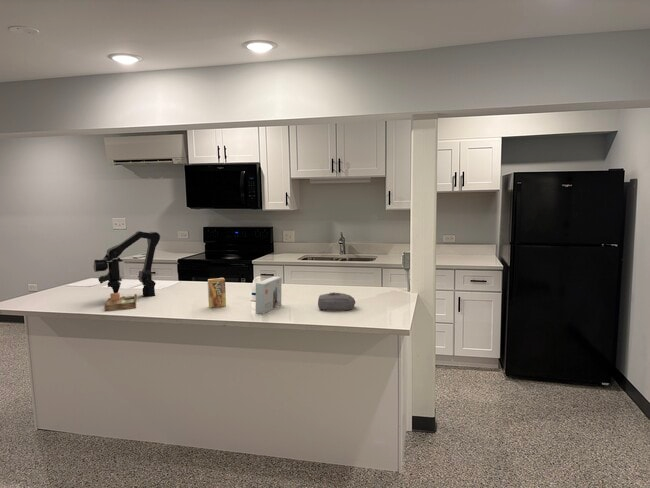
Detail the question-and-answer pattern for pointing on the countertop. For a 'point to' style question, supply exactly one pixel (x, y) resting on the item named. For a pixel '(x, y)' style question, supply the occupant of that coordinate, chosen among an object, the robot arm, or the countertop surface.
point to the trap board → (121, 303)
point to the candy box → (216, 292)
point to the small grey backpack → (336, 301)
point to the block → (115, 296)
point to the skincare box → (268, 294)
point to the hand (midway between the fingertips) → (115, 295)
